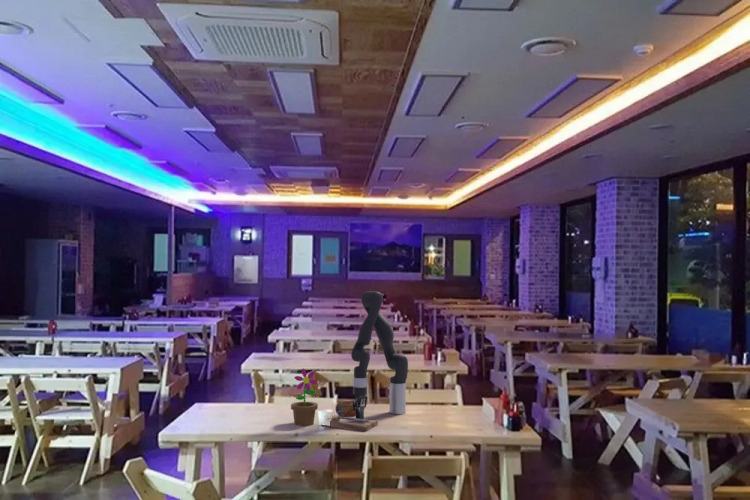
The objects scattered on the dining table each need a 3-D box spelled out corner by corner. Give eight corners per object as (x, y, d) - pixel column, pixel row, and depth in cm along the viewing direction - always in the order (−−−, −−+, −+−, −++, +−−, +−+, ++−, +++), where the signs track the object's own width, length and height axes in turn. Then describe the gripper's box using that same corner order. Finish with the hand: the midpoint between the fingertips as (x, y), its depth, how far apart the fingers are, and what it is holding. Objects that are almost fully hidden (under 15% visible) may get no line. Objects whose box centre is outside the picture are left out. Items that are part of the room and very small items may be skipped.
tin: (336, 417, 365) (336, 401, 365) (334, 415, 368) (334, 400, 368) (361, 415, 371) (362, 400, 371) (359, 413, 374) (360, 399, 374)
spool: (357, 419, 361) (357, 403, 361) (366, 420, 359) (366, 403, 359) (353, 421, 356) (353, 404, 356) (361, 422, 354) (362, 405, 354)
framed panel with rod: (334, 419, 358) (334, 415, 358) (377, 425, 347) (377, 420, 347) (321, 425, 346) (321, 420, 346) (366, 431, 335) (366, 426, 335)
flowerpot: (292, 427, 340) (293, 369, 340) (288, 421, 354) (289, 365, 354) (320, 426, 344) (320, 368, 344) (315, 419, 358) (315, 364, 358)
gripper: (360, 388, 350) (360, 420, 349) (371, 384, 363) (371, 415, 362) (348, 387, 353) (347, 419, 352) (359, 382, 366) (359, 413, 365)
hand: (359, 417), depth 357 cm, fingers closed on spool, 4 cm apart
